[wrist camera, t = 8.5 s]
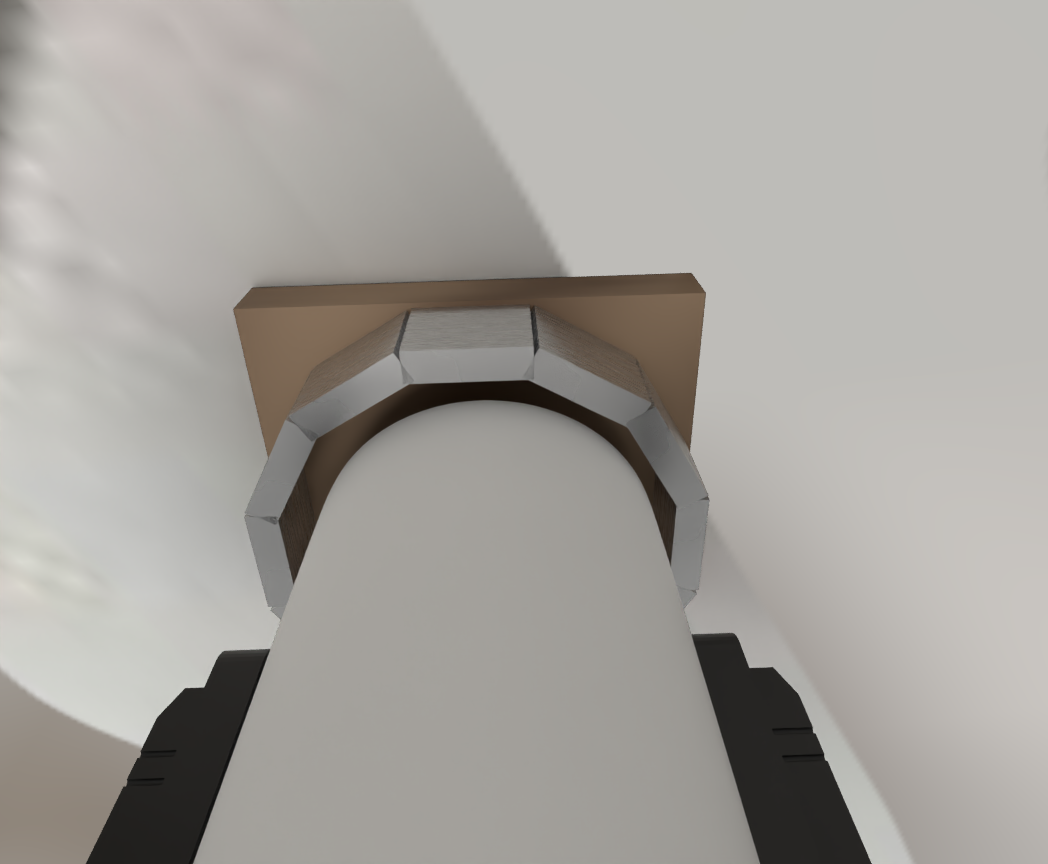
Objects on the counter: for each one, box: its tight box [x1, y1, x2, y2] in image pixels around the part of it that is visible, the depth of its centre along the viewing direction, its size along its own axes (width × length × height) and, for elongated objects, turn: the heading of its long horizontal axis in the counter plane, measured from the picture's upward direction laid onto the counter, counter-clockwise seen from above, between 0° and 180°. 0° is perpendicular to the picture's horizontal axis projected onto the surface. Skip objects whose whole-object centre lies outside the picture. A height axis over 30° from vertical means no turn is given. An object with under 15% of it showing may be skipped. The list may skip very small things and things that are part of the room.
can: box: [193, 400, 760, 864], centre depth 9 cm, size 6×6×12 cm
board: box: [233, 273, 706, 524], centre depth 16 cm, size 9×9×1 cm
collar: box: [244, 304, 709, 619], centre depth 15 cm, size 9×9×2 cm
